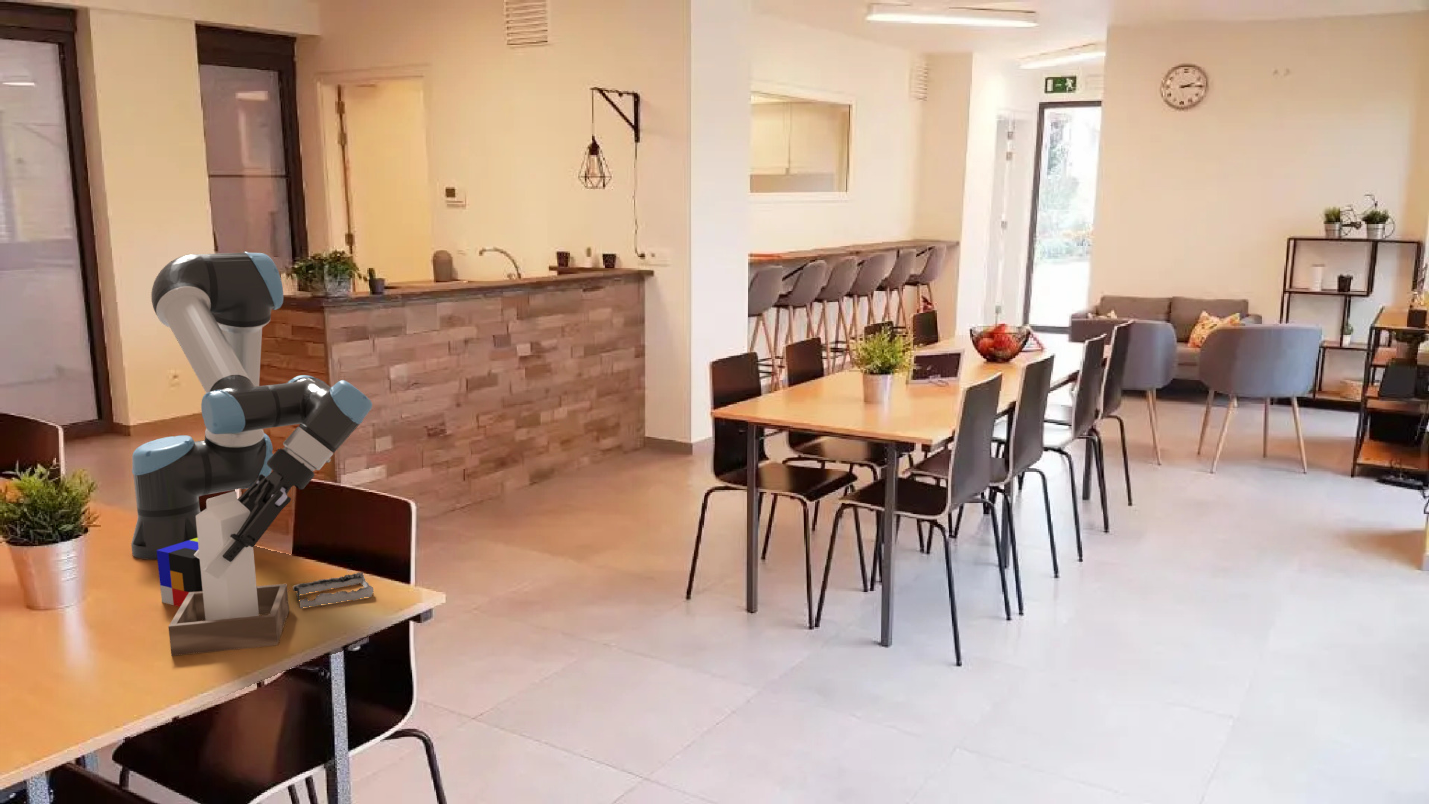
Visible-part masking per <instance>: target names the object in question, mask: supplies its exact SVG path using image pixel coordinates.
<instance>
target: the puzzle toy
mask: <svg viewBox="0 0 1429 804" xmlns="http://www.w3.org/2000/svg"><path fill="white" fill-rule="evenodd" d="M198 549H199V547H198V538H195V539H191V540H188V541H185V542H182V543H178V544H175V545H172V546H169V547H165V548H162V549H159V550H156V551H157V567H158V568H157V569H158V579H159V587H160V598H161V603H164V604H167V605H171V606H176V607H179V608H180V607H181V605H182V603H183V602H184V600H185V598H186V597H187V595H188V593H189V592H198V591H203V589H202V579H201V568H200V559H199V558H197V557H195V556H194V554H195V553H196V551H197V550H198Z"/></svg>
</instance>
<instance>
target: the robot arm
mask: <svg viewBox="0 0 1429 804" xmlns="http://www.w3.org/2000/svg"><path fill="white" fill-rule="evenodd" d="M283 287H284V286H283V282H282V278H281V274H280V272H279V269H278V267H277V265H276V263H275V262H274V260H273V259H272V258H271V257H270V256H269V255H268V254H266V253H262V252H249V251H244V252H228V253H227V252H226V253H225V252H223V253H202V254H201V253H200V254H199V253H190V254H185V255H182V256H179V257H177V258H175V259H173V260H171V261H170V262H168V263H167V264H166V265H165V266H164V267H163V268H162V269H161V270H160V271H159V272H158V274H157V276H156V277H155V279H154V281H153V284H152V287H151V295H150V298H151V304H152V308H153V311H154V312H155V315H156V316H157V318H158V320H159V321H160V322H161V324H162V325H163V326H165V327H168V328H169V329H170V330H171V331H172V334H173V336H174V337H175V339H176V341H177V343H178V344H179V347H180V348H181V350H182V352H183V354H184V355H185V357H186V359H187V361H188V363H189V364H190V366H191V368H192V370H193V372H194V374H195V376H196V377H197V379H198V381H199V383H200V384H201V386H202V388H203V390H204V392H205V394H204V395H203V396H202V398H201V405H200V406H201V407H200V408H201V410H200V411H201V416H202V419H203V422H204V426H205V432H204V439H203V440H196V441H195V440H194V438H193V437H192V436H190V435H183V434H182V435H175V436H165V437H162V438H157V439H155V440H149V441H148V442H145V443H143V444H141V445H140V446H138V447H136V449H135V450H134V451H133V453H132V459H131V460H132V461H131V462H132V465H131V466H132V467H131V468H132V469H131V472H132V473H131V474H132V475H133V482H134V484H133V485H134V492H135V493H134V494H135V501H136V511H137V520H136V522H135V523H136V524H135V528H134V532H133V535H132V540H131V543H130V544H131V545H130V546H131V555H132V556H133V557H134V558H137V559H141V560H152V561H153V560H155V561H156V560H157V551H156V550H159V549H162V548H165V547H169V546H172V545H175V544H178V543H182V542H185V541H188V540H191V539H195V538H198V536H197V526H196V515H198V514H199V513H201V512H202V511H201V509H200V499H199V497H201V496H205V495H207V496H208V495H211V494H217V493H223V492H231V491H236V490H245V489H246V490H245V491H244V492H243V493H242V494H241V495H240V496H239V497H237V500H238V501H240V502H241V503H242V504H243V505H244V506H245V507H246V508H247V509H248V510H249V511H250V515H249V516H248V518H247V519H246V521H245V522H244V524H243V525H242V527H241V528H240V530H239V531H238V533H237V534H231V536H230V537H231V538H230V539H229V540H228V542H227V543H226V544H225V545H224V546H223V547H222V549H221V550H220V551H219V552H218V553H217V554H216V555H215V557H214V558H213V559H212V560H211V561H210V562H209V563H208V565H207V566H206V567H205V568H204V571H206V572H207V573H209V574H210V575H212V576H214V577H215V578H217V579H219V578H220V577H221V575H222V574H223V573H224V572H225V571H226V570H227V568H228V567H229V566H230V565H231V564H232V563H233V561H234V560H235V559H236V558H237V557H238V556H239V555H240V553H241V552H242V551H243V550H244V549H245V548H247V547H248V546H250V547H253V548H254V547H255V546H256V545H257V543H258V542H259V540H260V539H261V538H262V537H263V535H264V534H265V533H266V532H267V530H268V528H269V527H270V526H271V524H272V523H273V522H274V521H275V520H276V518H277V517H278V516H279V514H280V513H281V512H282V510H283V509H284V508H285V507H286V506H287V505H288V504H289V503H290V502H291V501H292V498H291V497H290V496H289V495H288V494H289V492H290V491H291V489H292V487H294V488H295V487H296V489H298V490H304V489H305V487H307V486H308V484H310V482H311V481H312V480H313V479H314V477H315V474H316V473H315V470H316V471H320V470H321V469H322V468H323V466H325V464H326V463H327V464H328V463H330V462H331V459H332V458H331V457H332V456H333V455H334V453H335V452H336V451H337V450H339V448H340V447H341V446H342V445H343V443H345V441H346V440H347V439H348V438H349V437H350V436H351V435H352V434H353V433H354V431H355V430H356V429H357V428H358V427H359V425H361V424H362V423H363V422H364V419H365V418H366V416H367V415H368V414H369V413H370V411H371V410H372V408H373V402H372V400H371V399H370V398H369V397H368V396H367V395H365V393H363V392H362V391H361V390H360V389H359V388H357V387H355V386H354V385H353V384H351V383H350V382H348V381H347V380H344V379H342V380H339V381H337V382H336V383H335V384H333V386H330V385H329V384H327V383H326V382H325V381H323V380H321V379H320V378H316V377H314V376H312V375H308V374H307V375H305V374H303V375H297V376H295V377H293V378H292V379H290V380H288V381H287V382H285V383H278V384H268V385H267V384H266V385H260V377H261V376H260V375H261V374H260V373H261V356H262V355H261V354H262V340H263V339H262V338H263V337H262V335H263V328H264V327H265V326H266V325H268V324H269V323H270V322H271V319H272V317H271V316H272V310H274V311H276V310H278V309H280V308H281V307H282V305H283V303H284V289H283ZM293 425H298V426H297V427H296V428H295V429H294V430H293V432H291V434H290V435H289V436H288V437H287V438H286V439H285V440H284V441H283V443H282V444H283V446H284V447H283V448H281V447H280V448H278V449H277V450H276V451H275V452H274V453H273V449H274V448H273V444H272V441H271V439H270V437H269V435H268V434H266V433H265V432H264V430H265V429H270V428H278V427H280V428H281V427H287V426H293ZM194 556H195V557H197V558H199V549H198V550H197V551H196V553H195V554H194ZM199 559H200V558H199ZM157 561H158V560H157Z"/></svg>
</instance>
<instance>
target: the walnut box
mask: <svg viewBox="0 0 1429 804" xmlns="http://www.w3.org/2000/svg"><path fill="white" fill-rule="evenodd" d="M256 587H257V599H258V611H259V616H251V617H241V618H230V619H219V620H209V621H205V610H204V600H203V591H198V592H189V593H188V595H187V597H186V598H185V600H184V602H183V603H182V605H181V607H179V608H178V610H177V611H176V613H175V615H174V616H173V619H172V620H171V622H170V623H169V625H168V626H167V627H168V636H169V645H170V655H171V657H172V656H173V657H174V656H183V655H193V654H203V653H212V652H213V653H214V652H221V651H223V652H224V651H230V650H231V651H232V650H241V649H252V648H259V647H261V648H262V647H268V646H269V647H270V646H278V645H279V641H280V639H281V635H282V633H283V630H284V627H283V626H285V624H284V623H286V621H285V620H286V619H287V617H288V615H289V611H290V606H289V593H288V584H287V583H278V584H277V583H276V584H267V585H256Z"/></svg>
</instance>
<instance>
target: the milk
mask: <svg viewBox="0 0 1429 804" xmlns="http://www.w3.org/2000/svg"><path fill="white" fill-rule="evenodd" d="M237 493H238V492H237V491H236V490H232V491H228V492H227V493H223V494H220V495H217V496H214V497H213V496H212V497H210V498H207V499H206V501H205V503H206V504H205V506H206V508H205V509H203V510H202V511H200V512H201V513H199V514H198V515H196V526H197V536H198V547H199V558H200V568H201V579H202V589H203V600H204V610H205V620H204V621H209V620H219V619H230V618H241V617H251V616H260V615H259V611H258V599H257V587H256V586H257V577H256V565H255V556H254V553H255V552H254V547H250V546H248V547H247V548H245V549H244V550H243V551H242V552H241V553H240V555H239V556H238V557H237V558H236V559H235V560H234V561H233V563H232V564H231V565H230V566H229V567H228V568H227V570H226V571H225V572H224V573H223V574H222V575H221V577H220V578H219V579H217V578H215V577H214V576H212V575H210V574H209V573H207V572H206V571H204V568H205V567H206V566H207V565H208V563H209V562H210V561H211V560H212V559H213V558H214V557H215V555H216V554H217V553H218V552H219V551H220V550H221V549H222V547H223V546H224V545H225V544H226V543H227V542H228V540H229V539H230V538H231V537H230V536H231V534H237V533H238V531H239V530H240V528H241V527H242V525H243V524H244V522H245V521H246V519H247V518H248V516H249V515H250V511H249V510H248V509H247V508H246V507H245V506H244V505H243V504H242V503H241V502H240V501H238V500H237V499H238V494H237Z"/></svg>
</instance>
